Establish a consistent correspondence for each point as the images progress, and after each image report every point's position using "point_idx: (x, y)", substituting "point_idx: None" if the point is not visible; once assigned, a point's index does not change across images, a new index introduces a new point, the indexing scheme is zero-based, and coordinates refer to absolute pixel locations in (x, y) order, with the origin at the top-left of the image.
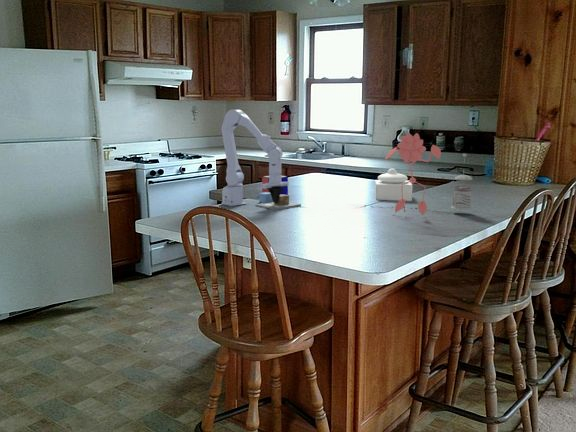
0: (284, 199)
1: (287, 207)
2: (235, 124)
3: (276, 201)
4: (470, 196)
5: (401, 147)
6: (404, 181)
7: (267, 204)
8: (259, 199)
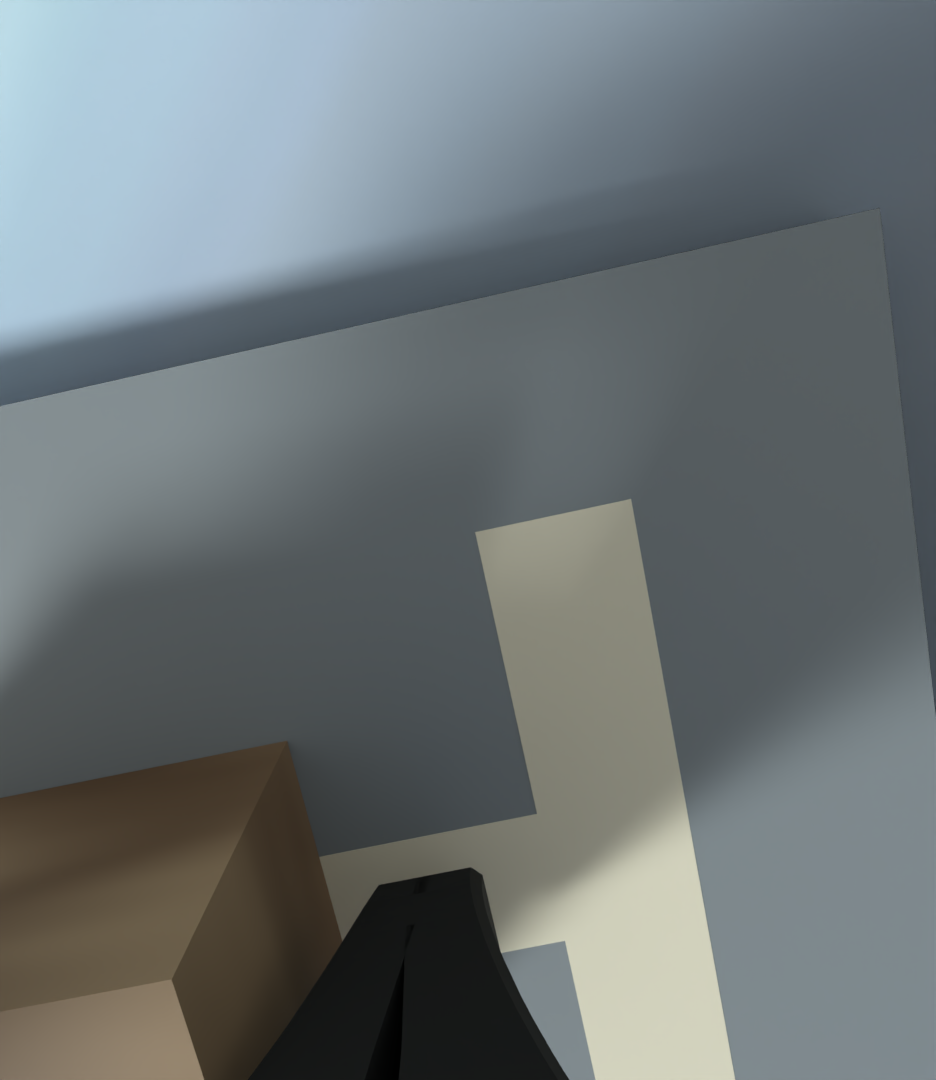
0: (17, 894)
1: (203, 365)
2: None
3: (449, 894)
4: None
5: None
6: None
7: (667, 1063)
8: None
